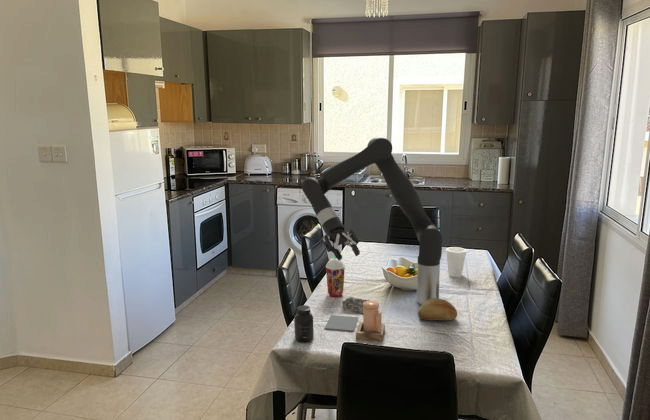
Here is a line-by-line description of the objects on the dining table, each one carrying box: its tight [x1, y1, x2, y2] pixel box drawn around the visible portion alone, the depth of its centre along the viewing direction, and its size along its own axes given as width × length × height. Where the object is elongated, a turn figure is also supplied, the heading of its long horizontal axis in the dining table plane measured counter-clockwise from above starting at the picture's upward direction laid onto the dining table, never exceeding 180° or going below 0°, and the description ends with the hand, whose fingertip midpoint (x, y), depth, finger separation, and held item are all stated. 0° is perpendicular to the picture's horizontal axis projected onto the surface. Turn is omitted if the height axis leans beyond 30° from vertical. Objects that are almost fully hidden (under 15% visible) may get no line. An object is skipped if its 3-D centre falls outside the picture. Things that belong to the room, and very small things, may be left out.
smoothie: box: [325, 255, 346, 299], centre depth 210 cm, size 8×8×20 cm
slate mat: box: [324, 314, 359, 333], centre depth 183 cm, size 11×12×1 cm
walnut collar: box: [355, 321, 386, 342], centre depth 174 cm, size 9×9×2 cm
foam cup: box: [445, 246, 467, 278], centre depth 235 cm, size 10×9×13 cm
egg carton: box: [341, 296, 371, 313], centre depth 198 cm, size 11×8×4 cm
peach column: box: [362, 299, 382, 333], centre depth 172 cm, size 8×6×12 cm
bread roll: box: [417, 298, 458, 321], centre depth 186 cm, size 10×15×8 cm, turn 85°
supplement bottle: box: [293, 304, 315, 344], centre depth 170 cm, size 7×7×12 cm
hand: (349, 256), depth 178 cm, fingers open, 8 cm apart
